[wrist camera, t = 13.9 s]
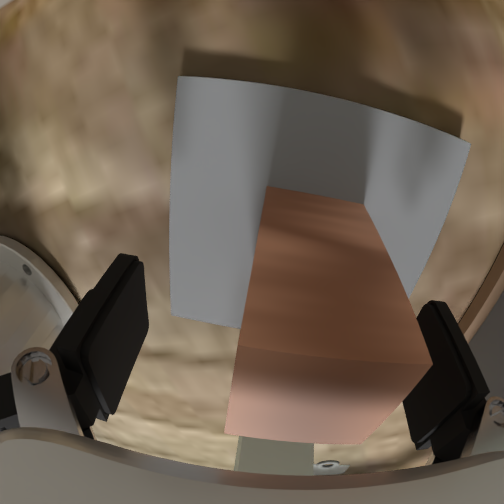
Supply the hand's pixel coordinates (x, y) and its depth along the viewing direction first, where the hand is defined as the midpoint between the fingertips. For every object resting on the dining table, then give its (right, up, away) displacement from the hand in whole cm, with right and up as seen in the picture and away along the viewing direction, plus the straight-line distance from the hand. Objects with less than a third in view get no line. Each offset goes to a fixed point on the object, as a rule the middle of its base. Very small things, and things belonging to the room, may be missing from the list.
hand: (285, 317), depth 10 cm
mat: (+1, +3, +4) cm, 6 cm away
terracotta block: (+1, +3, +3) cm, 5 cm away
